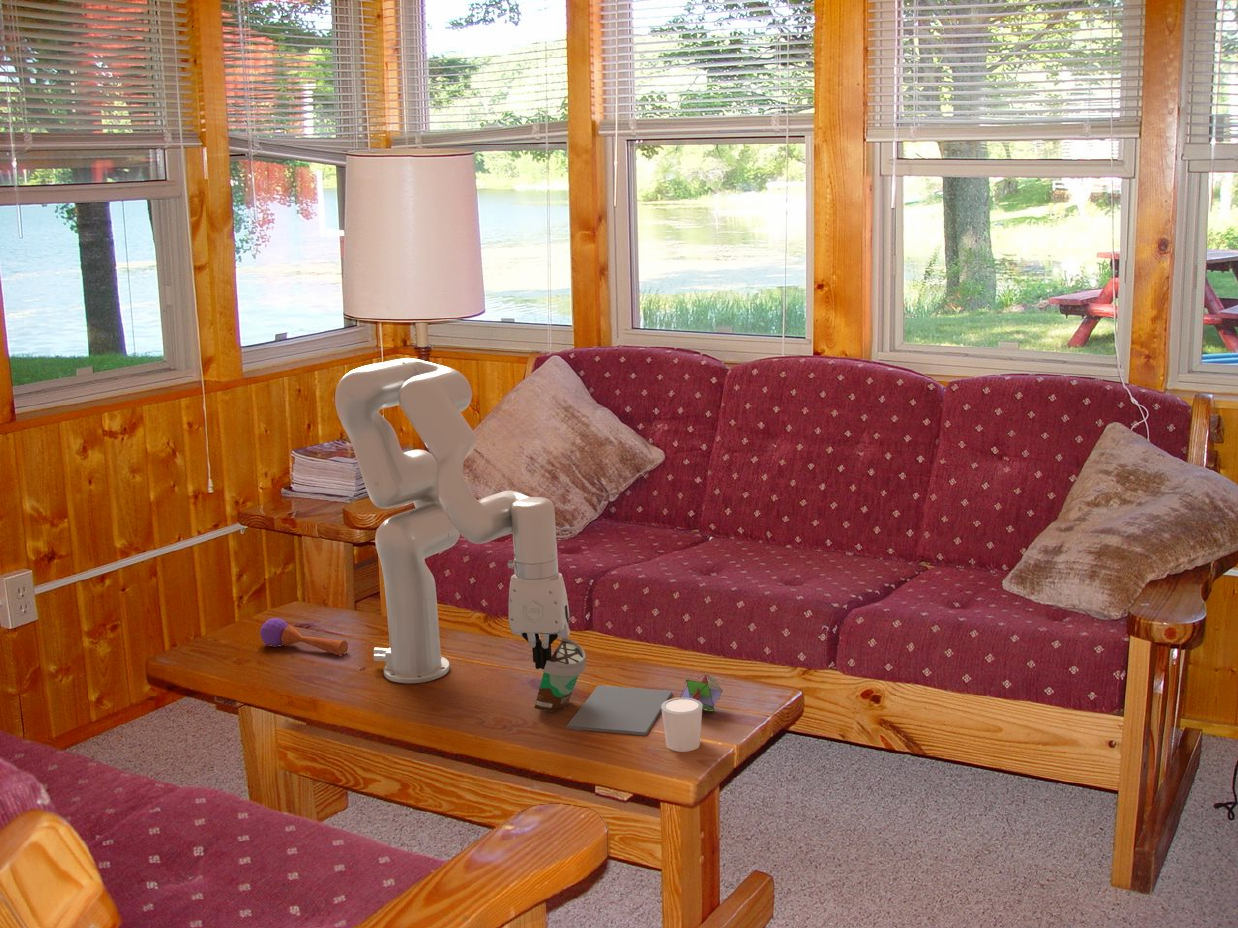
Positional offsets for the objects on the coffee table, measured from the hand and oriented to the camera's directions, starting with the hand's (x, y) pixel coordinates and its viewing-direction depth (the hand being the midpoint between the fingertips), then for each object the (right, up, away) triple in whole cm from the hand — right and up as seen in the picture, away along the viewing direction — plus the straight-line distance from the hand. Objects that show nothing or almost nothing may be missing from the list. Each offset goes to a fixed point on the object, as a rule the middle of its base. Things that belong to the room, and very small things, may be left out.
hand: (542, 666), depth 237 cm
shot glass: (+24, -11, -17) cm, 31 cm away
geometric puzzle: (+28, -8, -4) cm, 29 cm away
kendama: (-51, -2, +34) cm, 61 cm away
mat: (+14, -7, -2) cm, 16 cm away
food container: (+2, -7, +1) cm, 7 cm away
